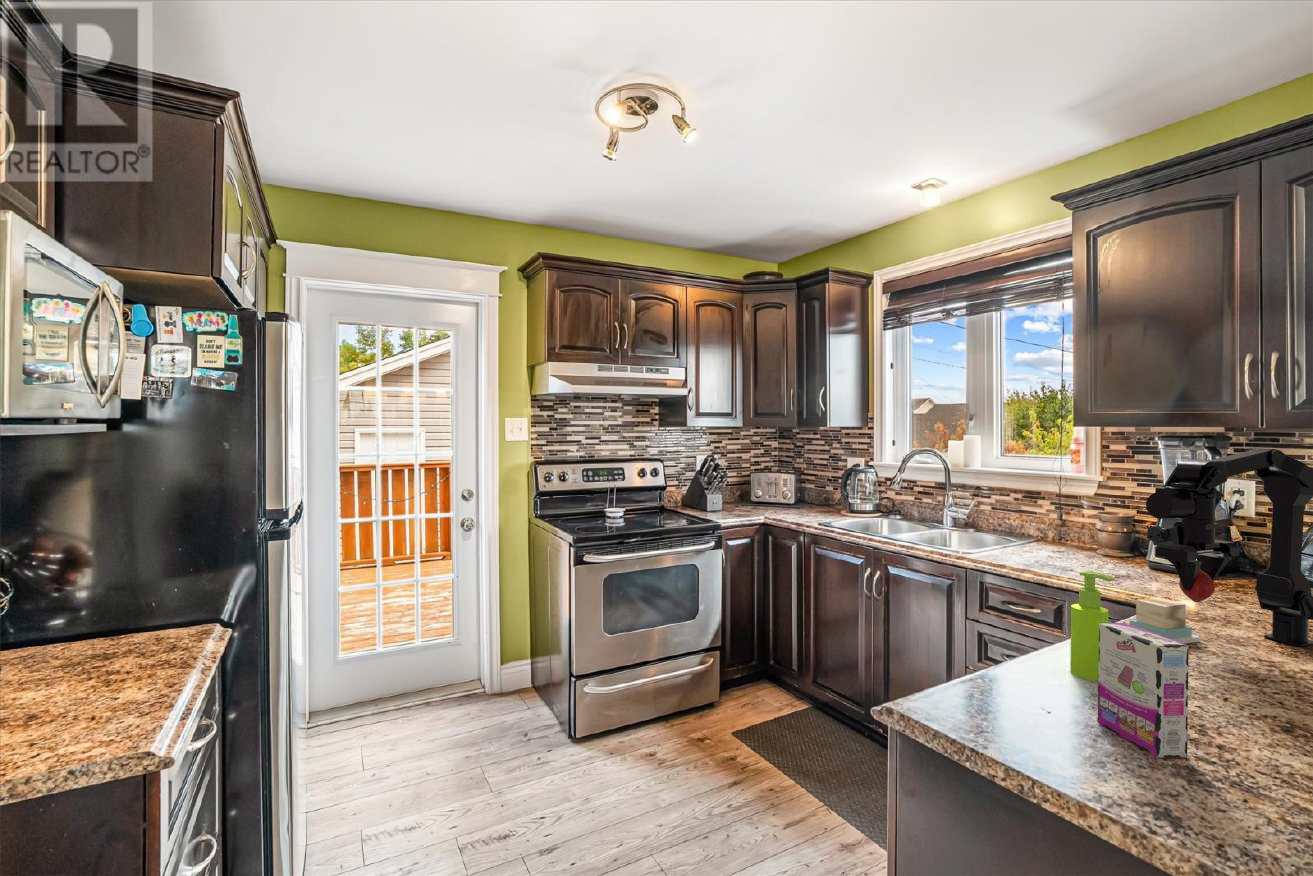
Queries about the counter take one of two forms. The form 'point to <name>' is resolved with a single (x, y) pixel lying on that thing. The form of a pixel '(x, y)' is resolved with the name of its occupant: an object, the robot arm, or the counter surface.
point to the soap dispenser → (1087, 628)
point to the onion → (1200, 587)
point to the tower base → (1169, 632)
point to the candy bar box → (1143, 689)
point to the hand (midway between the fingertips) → (1196, 589)
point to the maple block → (1160, 613)
